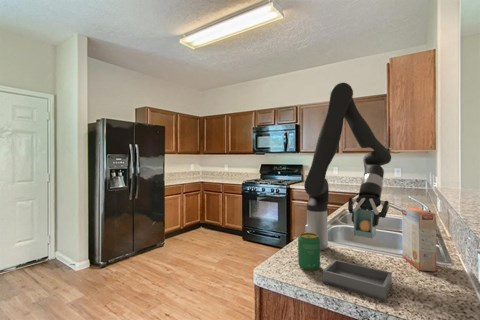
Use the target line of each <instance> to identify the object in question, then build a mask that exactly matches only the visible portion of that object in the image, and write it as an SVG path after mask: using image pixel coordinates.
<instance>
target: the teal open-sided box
mask: <svg viewBox="0 0 480 320" xmlns="http://www.w3.org/2000/svg"><path fill="white" fill-rule="evenodd" d="M374 215H375V212H374V211H373V210H372V211H370V210H361V209H360V210H359V209H358V210H356V211H354V224H353V236H355V237H362V238H367V239H373V238H375V236H376V235H377V226H376V227H373V219H374ZM364 220H366V221H369V222H370V223H371V230H370V231H369V232H365V231H362V230H361V229H360V223H361V222H362V221H364Z"/></svg>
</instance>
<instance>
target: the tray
mask: <svg viewBox="0 0 480 320" xmlns="http://www.w3.org/2000/svg"><path fill="white" fill-rule="evenodd" d="M322 283H323V284H325V285H328V286H332V287H335V288H338V289H342V290H344V291H349V292H352V293H355V294H359V295H362V296H365V297H369V298H372V299H376V300H379V301H382V302H387V299H388V296H389V293H390V291H391V289H392V286H393V272H391V271H387V270H382V269H377V268H373V267H370V266H364V265H361V264H357V263H356V264H355V263H352V262H348V261H347V262H346V261H342V260H339V259H338V260H337V259H334V260H333V261H331V263H329V265H327V266H326V267H325V268H324V269H323V270H322Z"/></svg>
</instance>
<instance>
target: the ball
mask: <svg viewBox="0 0 480 320" xmlns="http://www.w3.org/2000/svg"><path fill="white" fill-rule="evenodd" d="M360 229H361V230H362V231H365V232H369V231H370V230H371V223H370V222H369V221H366V220H364V221H362V222H361V223H360Z"/></svg>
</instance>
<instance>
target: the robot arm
mask: <svg viewBox="0 0 480 320" xmlns="http://www.w3.org/2000/svg"><path fill="white" fill-rule="evenodd" d="M353 96H354V90H353V88H352V86H351V85H350V84H349V83H347V82H340V83H337V84H335V85H334V86H333V87H332V88H331V91H330V93H329V102H328V107H327V111H326V112H327V113H326V115H325V118H324V121H323V123H322V125H321V128H320V131H319V134H318V138H317V141H316V145H315V149H314V154H313V157H312V161H311V164H310V165H311V166H310V168H309V171H308V173H307V175H306V177H305V178H306V179H305V180H304V183H303V184H304V186H303V187H304V190H305V193H306V194H307V195H308V201H307V203H306V225H304V226H305V227H304V229H305V232H304V233H314V234H317V235H318V237H319V239H320V251H324V250H327V249H328V248H329V242H328V241H329V236H328V235H329V231H328V226H329V225H328V205H329V192H330V191H329V182H328V179H327V178H326V175H327V171H328V168H329V166H330V164H331V163H332V161H333V159H334V157H335V155H336V153H337V151H338V147H339V143H340V142H341V137H342V132H343V127H344V126H343V125H344V119H345V120H346V123H347V124H348V126H349V128H350V130H351V133H352V135H353V137H354V138H355V140H356V141H357V143H358V145H359V146H360V148H362V149H368V148H369V149H371V150H373V151H369V152H367V153H366V154H365V155H364V156H363V158H362V159H363V160H362V161H363V166H364V173H363V177H362V180H361V183H360V187H359V192H358V196H357V197H356V198H352V197H348V202H347V203H348V205H347V209H348V212H349V215H350V214H351V217H350V219H351V222H353V225H354V211H356V210H358V209H359V210H360V209H361V210H370V211H374V212H375V215H374V219H373V227H376V228H377V226H379V220H380V218H382V219H384V218H386V217H387V214H388V211H389V208H390V202H389V201H388V200H385V201H382V200H381V197H382V191H383V185H384V184H383V182H384V181H383V180H384V177H385V171H384V168H383V167H382V166H384V165H387V164H389V163H390V162H392V155H391V152H390V150H389V149H387V148H386V147H385V145H383V144H382V143H381V142H380V141H379V139H377V138H376V136H375V133H374V132H373V130H372V129H371V127H370V126H369V124H368V123H367V121H366V120H365V118H364V116H362V114H361V113H360V111H359V109H358V108H357V106H356V104H355V101H354V97H353ZM355 204H356V205H355ZM354 205H355V207H354ZM379 206H381V207H382V208H381V210H380V212H379V211H378V208H379Z"/></svg>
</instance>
